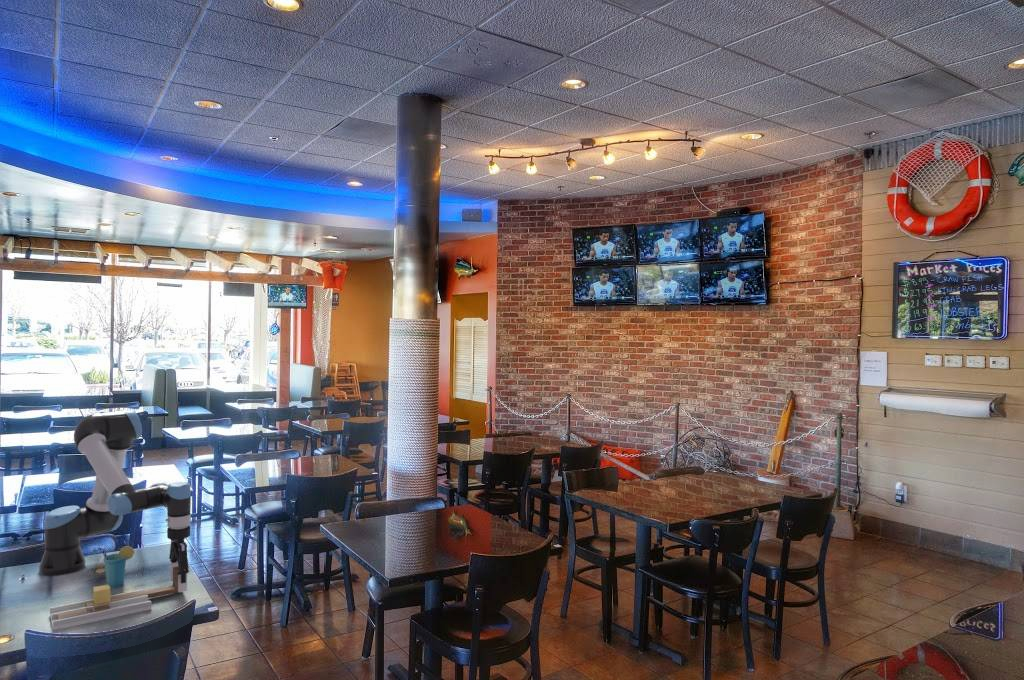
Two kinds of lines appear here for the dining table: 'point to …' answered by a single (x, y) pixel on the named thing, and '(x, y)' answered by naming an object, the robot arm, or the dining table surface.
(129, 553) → the cup
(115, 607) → the lane board
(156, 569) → the dining table surface
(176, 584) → the strip
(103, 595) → the cube
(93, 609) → the broken strip
